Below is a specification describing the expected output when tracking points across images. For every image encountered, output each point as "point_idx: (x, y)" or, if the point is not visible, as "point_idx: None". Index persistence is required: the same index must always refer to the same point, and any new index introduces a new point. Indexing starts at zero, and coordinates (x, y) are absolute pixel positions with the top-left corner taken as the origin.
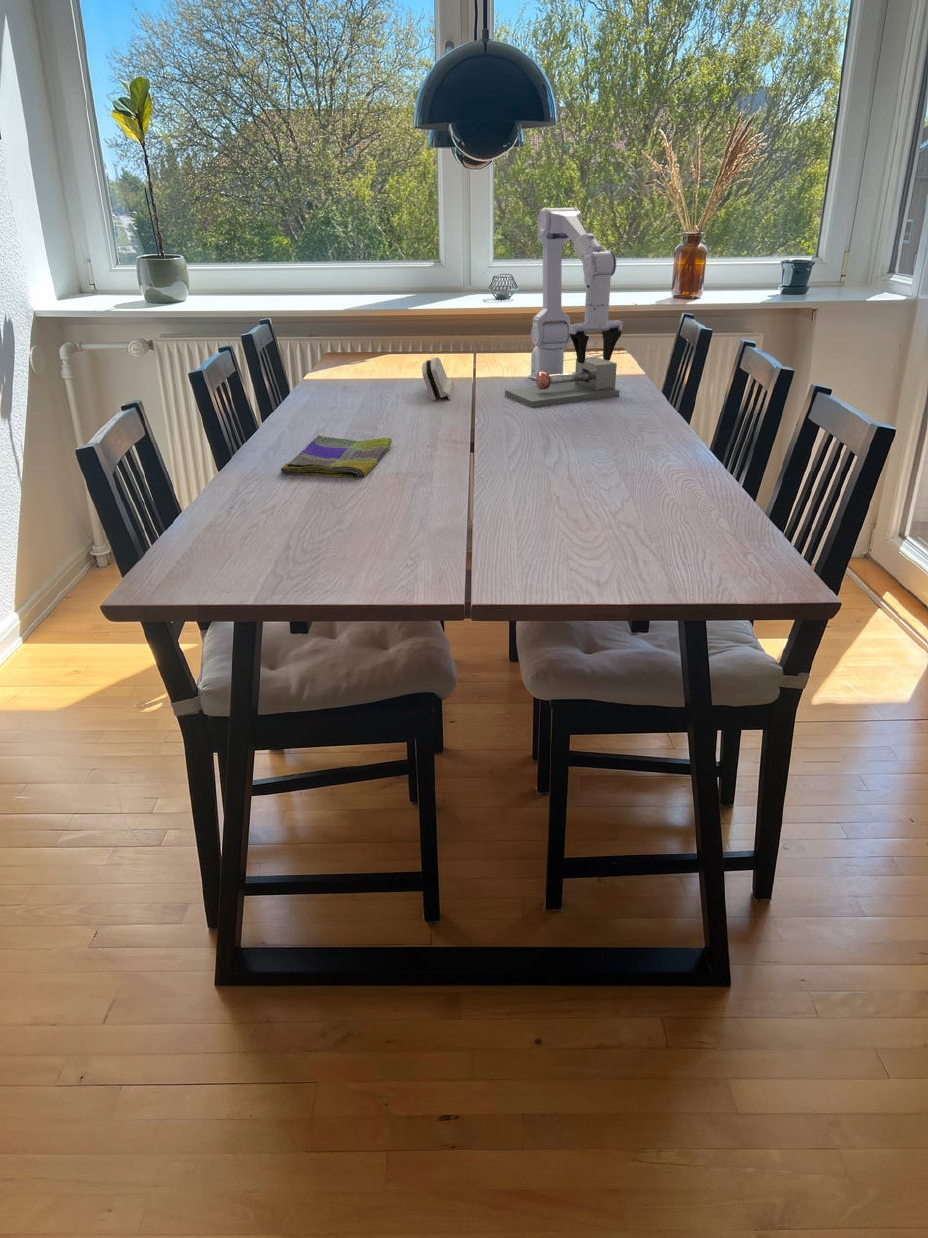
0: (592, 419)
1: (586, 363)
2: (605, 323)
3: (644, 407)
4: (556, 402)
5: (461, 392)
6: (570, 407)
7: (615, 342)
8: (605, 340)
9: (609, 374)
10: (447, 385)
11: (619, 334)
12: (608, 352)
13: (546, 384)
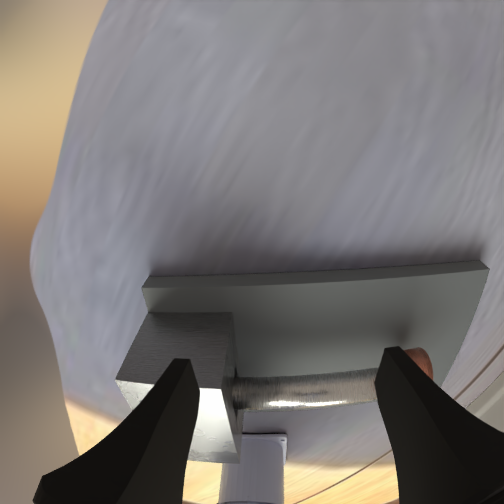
0: (418, 27)
1: (232, 429)
2: None
3: (136, 87)
4: (413, 268)
5: (462, 404)
6: (402, 206)
7: (107, 444)
8: (174, 490)
9: (160, 350)
10: (481, 412)
11: (53, 487)
12: (177, 402)
13: (419, 351)
